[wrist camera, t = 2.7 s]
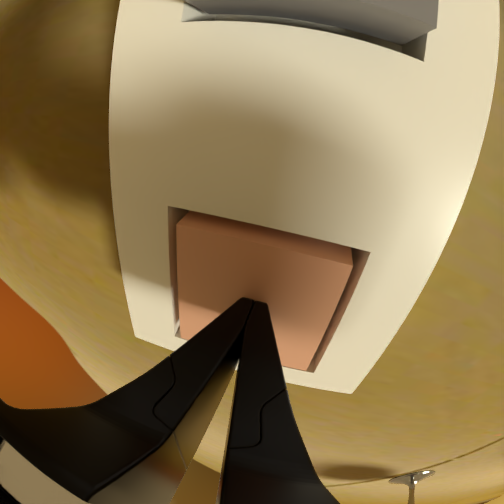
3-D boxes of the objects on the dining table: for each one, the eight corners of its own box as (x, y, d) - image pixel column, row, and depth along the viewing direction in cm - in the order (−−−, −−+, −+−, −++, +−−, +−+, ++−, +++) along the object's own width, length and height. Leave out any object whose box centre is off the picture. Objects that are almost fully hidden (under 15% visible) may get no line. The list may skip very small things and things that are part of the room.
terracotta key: (347, 224, 9) (353, 265, 7) (311, 325, 12) (306, 370, 10) (207, 193, 10) (176, 224, 8) (202, 297, 13) (180, 337, 11)
